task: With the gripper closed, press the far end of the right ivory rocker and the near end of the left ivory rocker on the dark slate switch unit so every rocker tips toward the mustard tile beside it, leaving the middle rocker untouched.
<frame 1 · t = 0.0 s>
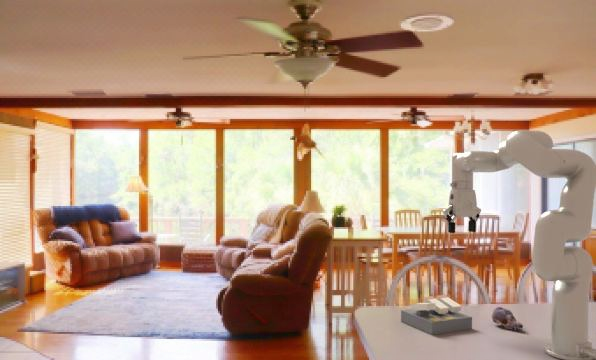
hand: (462, 232, 192), 31 cm above the table, tool pointing down, fingers open, 9 cm apart
switch unit: (435, 324, 181), on the table
rocker a: (448, 303, 184), point 7 cm above the table, hinge at -13.0°
rocker c: (423, 306, 179), point 7 cm above the table, hinge at 13.0°
rocker b: (435, 304, 181), point 7 cm above the table, hinge at -13.0°
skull: (507, 328, 179), on the table
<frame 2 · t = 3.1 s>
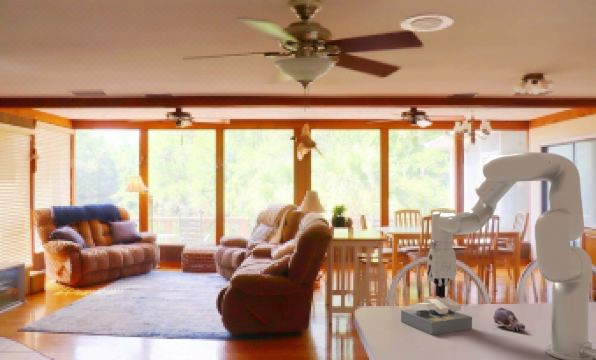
hand: (440, 296, 187), 9 cm above the table, tool pointing down, fingers closed
rocker a: (448, 303, 184), point 7 cm above the table, hinge at -8.2°, touching gripper
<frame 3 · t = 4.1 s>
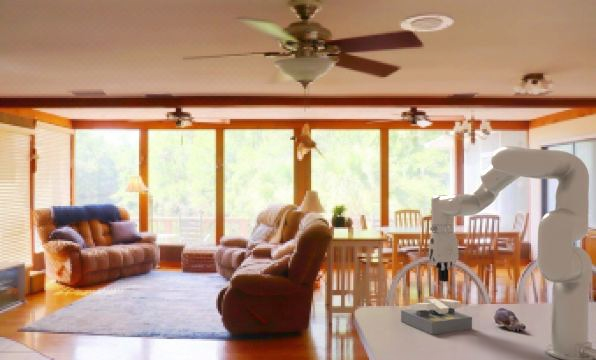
hand: (443, 280, 186), 14 cm above the table, tool pointing down, fingers closed
rocker a: (448, 303, 184), point 7 cm above the table, hinge at 5.6°
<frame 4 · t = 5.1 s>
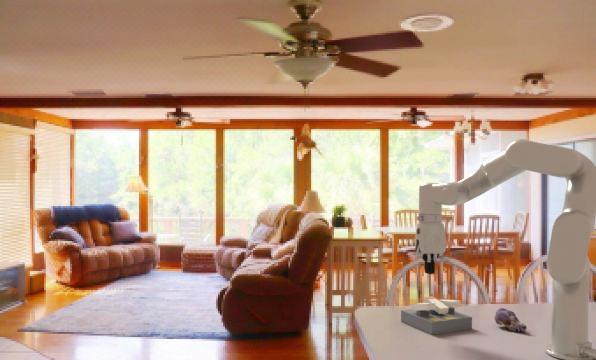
hand: (429, 273, 176), 19 cm above the table, tool pointing down, fingers closed
rocker a: (448, 303, 184), point 7 cm above the table, hinge at 9.1°
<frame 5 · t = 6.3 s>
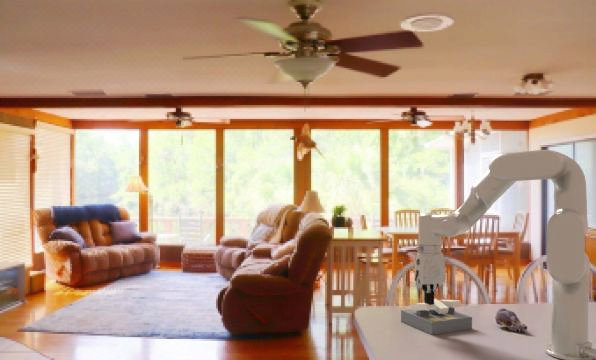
hand: (429, 303, 176), 9 cm above the table, tool pointing down, fingers closed
rocker a: (448, 303, 184), point 7 cm above the table, hinge at 10.2°
rocker c: (423, 306, 179), point 7 cm above the table, hinge at 12.6°, touching gripper
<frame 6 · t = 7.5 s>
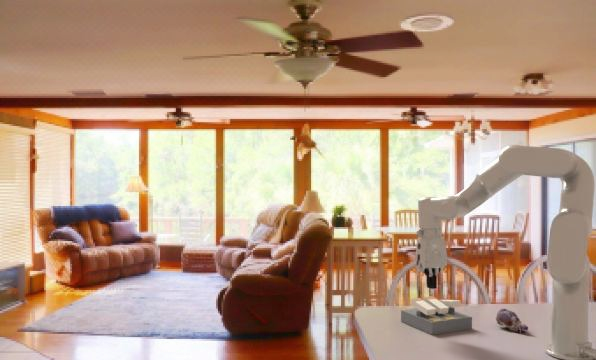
hand: (431, 287, 175), 14 cm above the table, tool pointing down, fingers closed
rocker c: (423, 306, 179), point 7 cm above the table, hinge at -10.8°
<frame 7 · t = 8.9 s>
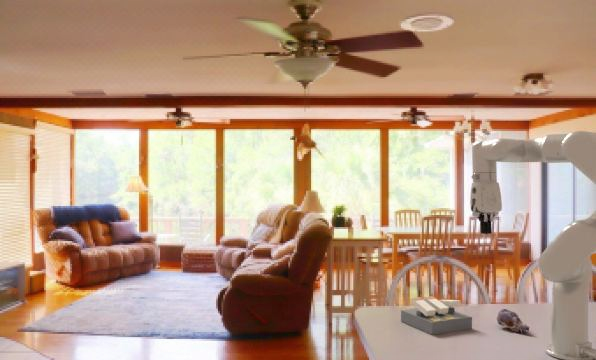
hand: (486, 233, 173), 33 cm above the table, tool pointing down, fingers closed
rocker c: (423, 306, 179), point 7 cm above the table, hinge at -15.8°
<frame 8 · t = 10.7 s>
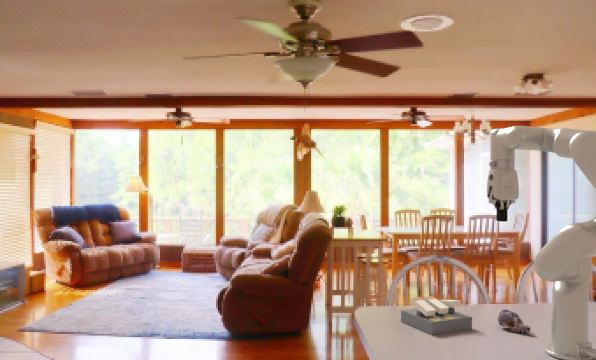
hand: (501, 221, 172), 37 cm above the table, tool pointing down, fingers closed
rocker c: (423, 306, 179), point 7 cm above the table, hinge at -16.8°
at the end: rocker a at +11° (first picture: -13°); rocker c at -17° (first picture: +13°); rocker b at -13° (first picture: -13°) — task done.
